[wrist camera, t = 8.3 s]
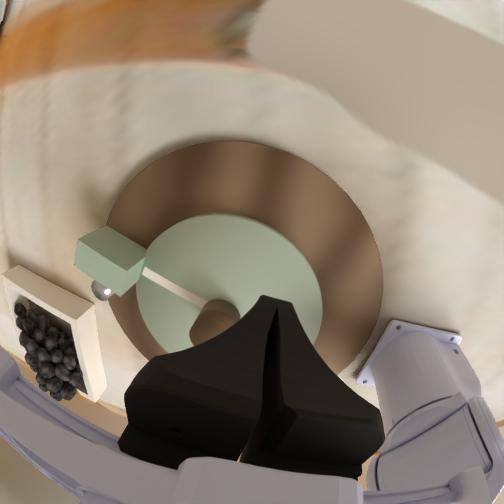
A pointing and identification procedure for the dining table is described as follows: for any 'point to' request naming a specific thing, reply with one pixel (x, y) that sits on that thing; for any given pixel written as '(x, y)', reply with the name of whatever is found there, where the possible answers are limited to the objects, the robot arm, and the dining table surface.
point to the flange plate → (203, 272)
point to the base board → (271, 213)
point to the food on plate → (3, 9)
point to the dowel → (101, 291)
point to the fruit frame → (70, 310)
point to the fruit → (49, 354)
